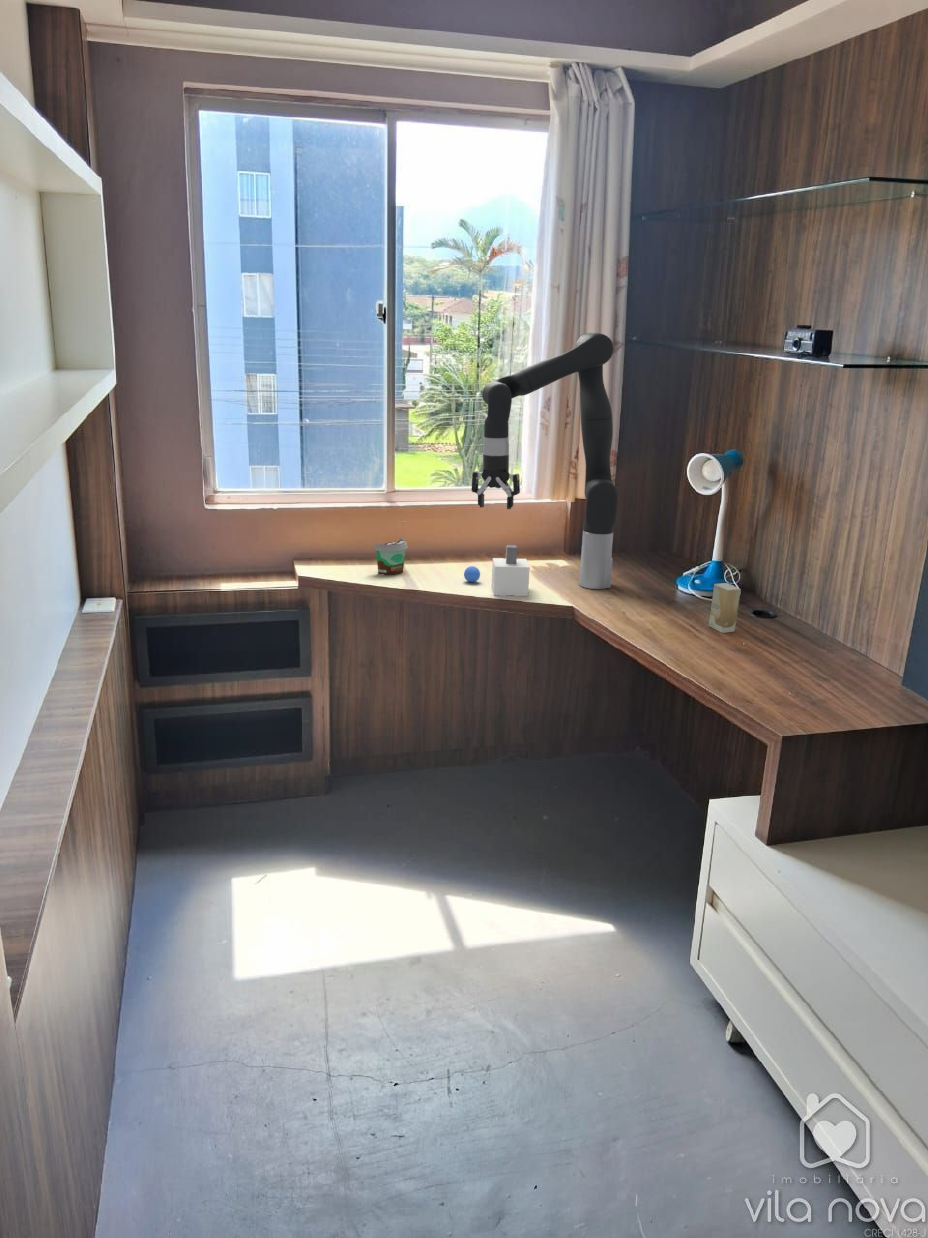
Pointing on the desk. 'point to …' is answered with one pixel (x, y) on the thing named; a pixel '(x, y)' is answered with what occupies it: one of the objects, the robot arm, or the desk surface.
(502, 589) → the white block with peg
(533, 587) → the desk surface
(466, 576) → the ball
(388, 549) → the food container
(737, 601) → the skincare box
